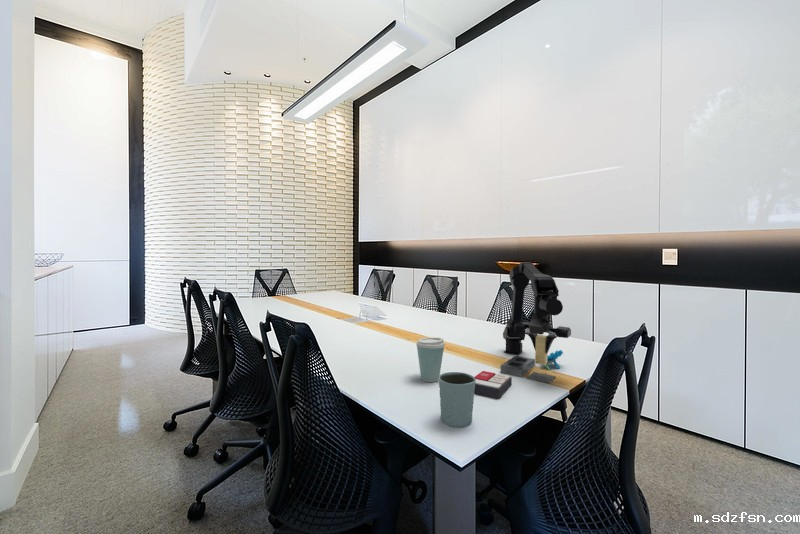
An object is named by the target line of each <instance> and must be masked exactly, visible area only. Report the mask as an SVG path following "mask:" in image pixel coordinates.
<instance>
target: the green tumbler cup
mask: <svg viewBox="0 0 800 534" xmlns="http://www.w3.org/2000/svg"><path fill="white" fill-rule="evenodd" d="M474 377H475V376H473V375H472V374H469V373H466V372H459V371H449V372H443V373H440V376H439V379H438V388H439V398H440V400H439V401H440V402H439V404H440V419H441V422H442V423H443V425H446V426H448V427H450V428H457V429H459V428H460V429H462V428H466V427H469V426H470V425H471V424H472V422H473V411H474V400H475V399H474V398H475V394H474V390H475V382H476V379H475V378H474Z"/></svg>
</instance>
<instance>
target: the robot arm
mask: <svg viewBox="0 0 800 534" xmlns="http://www.w3.org/2000/svg"><path fill="white" fill-rule="evenodd" d="M508 277H509V282H510V284H511V285H512V287H513V288H512V301H511V314H510V318H509V319H508V320H507V321H506V325H505V327H504V330H503V332H502V338H503V339H504V340H505V350H504V352H503V353H506V354H512V355H515V356H519V355H520V354H522V353H523V342H522V341H525V339H526V335H527V336H528V337H529V338H530V340H531V342H532V345H533V348H534V350H535V347H536V336H537V335H544V334H545V333H548V335H545V336H546V337H547V344H546V353H549V351H550V349H551V347H552V344H553V342H554V340H555V339H556V338H563V339H564V338H565V339H568V338H569V337H571V336H572V330H571V328H570V327H569V326H567V327H566V326H557V327H556V328H554V327H552V322H551V320H552V316H558V315H559V314H561V313H562V312H563V309H564V306H563V302H561V300H560V299H558V297H559V296H560V294H559V289H558V286H557V283H556V281H555V279H554V278H553V277H552V276H551V275H550V274H549V275H548V274H544V273H542V272H541V271H540V270H539V269H538V268H537V267H536V266H535V265H534V263H533V262H531V261H530V262H529V261H528V262H527V261H524V262H523V261H522V262H519V264H518V265H516V266H514V267H512V268H511V269H510V271H509V276H508ZM529 284H530V288H531V290H532V292H533V294H532V295H533V297H534V298H533V299H534V300H533V302H534V303H533V307H534V308H533V313H532V318H531V320H530V321H529V322H528V321H523V319H522V318H523V309H524V299H525V298H524V297H525V291H526V288H527V287H528V286H529ZM521 352H522V353H521Z"/></svg>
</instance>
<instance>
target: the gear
mask: <svg viewBox="0 0 800 534" xmlns="http://www.w3.org/2000/svg"><path fill="white" fill-rule="evenodd" d="M563 354H564V352H563V350H562V349H559V350H556V351H555V352H550V353H549V355H548V358H547V364H545V365H544V366H545V367H546V368H547V370H548V371H550V370H551V368H550V367H549V364H552V363H553V364H554V365H555V367H556V369H557V370H559V369H561V367H560V365H559V364H558V363H557V359H558V358H559V357H561V356H562V355H563Z"/></svg>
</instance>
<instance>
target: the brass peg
mask: <svg viewBox="0 0 800 534" xmlns="http://www.w3.org/2000/svg"><path fill="white" fill-rule="evenodd" d="M546 336H547V335H544V334H542V335H540V334H538V335H537V336H536V347H535V349H534V351H535V353H534V355H535V357H534V359H535V365H536V364H538V365H542V366H545V364H547V358H548V356H549V355H548V353H549V352H548V353H546V344H547V337H546ZM547 365H548V364H547Z"/></svg>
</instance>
